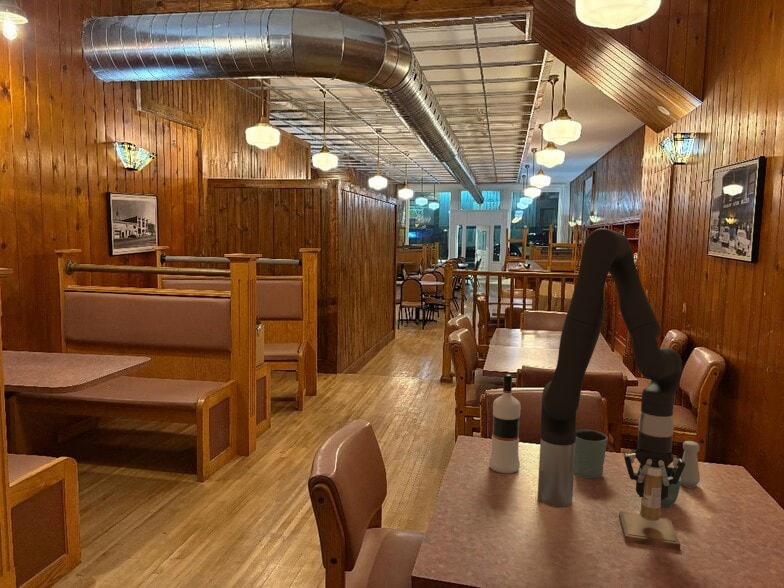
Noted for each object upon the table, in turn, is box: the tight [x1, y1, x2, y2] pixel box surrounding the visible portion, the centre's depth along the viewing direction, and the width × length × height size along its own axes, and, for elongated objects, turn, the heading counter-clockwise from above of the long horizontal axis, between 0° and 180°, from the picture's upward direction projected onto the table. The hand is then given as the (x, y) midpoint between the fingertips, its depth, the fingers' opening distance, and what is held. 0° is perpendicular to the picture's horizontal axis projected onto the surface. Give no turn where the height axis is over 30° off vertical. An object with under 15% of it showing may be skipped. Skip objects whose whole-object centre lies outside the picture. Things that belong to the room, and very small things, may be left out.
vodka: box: [488, 373, 521, 475], centre depth 171 cm, size 9×9×30 cm
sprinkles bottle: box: [639, 467, 662, 521], centre depth 136 cm, size 5×5×13 cm
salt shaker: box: [680, 440, 701, 489], centre depth 163 cm, size 6×6×13 cm
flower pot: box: [660, 466, 681, 508], centre depth 152 cm, size 9×9×9 cm
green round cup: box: [574, 429, 609, 480], centre depth 170 cm, size 10×10×12 cm
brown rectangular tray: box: [618, 511, 681, 551], centre depth 137 cm, size 12×12×2 cm
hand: (651, 496), depth 136 cm, fingers closed on sprinkles bottle, 4 cm apart
